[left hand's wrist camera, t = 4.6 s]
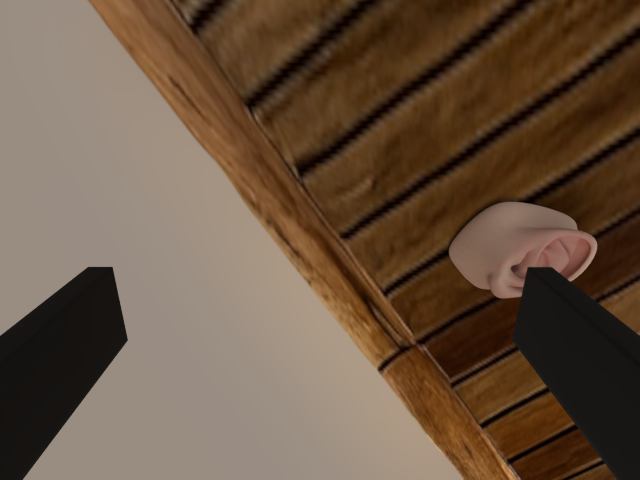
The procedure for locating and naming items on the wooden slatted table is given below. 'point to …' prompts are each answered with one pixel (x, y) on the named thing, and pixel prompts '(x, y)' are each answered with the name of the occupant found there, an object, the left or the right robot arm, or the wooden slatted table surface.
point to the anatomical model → (519, 246)
